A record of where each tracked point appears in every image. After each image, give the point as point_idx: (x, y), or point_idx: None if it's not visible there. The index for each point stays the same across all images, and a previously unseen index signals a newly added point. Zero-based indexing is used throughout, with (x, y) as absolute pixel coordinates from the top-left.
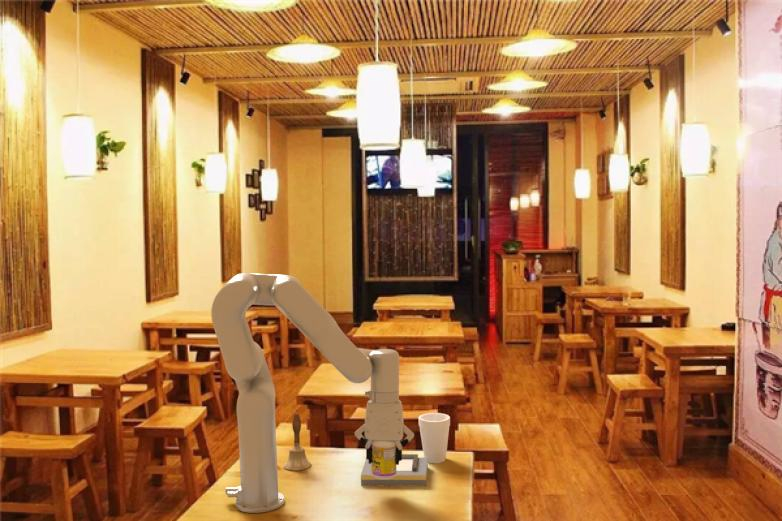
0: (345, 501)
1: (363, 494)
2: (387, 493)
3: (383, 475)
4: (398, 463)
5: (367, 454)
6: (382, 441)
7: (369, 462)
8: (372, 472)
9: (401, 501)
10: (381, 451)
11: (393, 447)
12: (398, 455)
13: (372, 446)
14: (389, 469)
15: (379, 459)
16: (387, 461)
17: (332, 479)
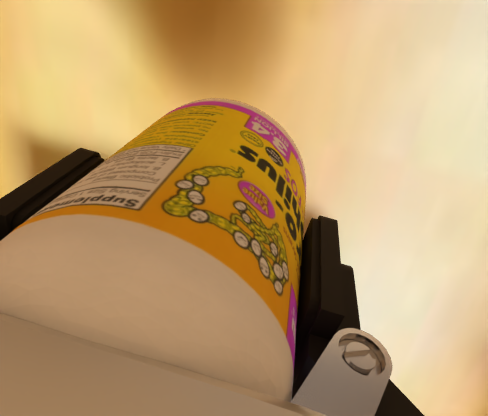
0: (471, 91)
1: (345, 160)
2: None
3: (230, 103)
4: (77, 149)
5: (344, 290)
6: (111, 329)
7: (328, 220)
8: (304, 175)
9: (163, 18)
10: (187, 201)
11: (9, 234)
12: (29, 182)
13: (292, 337)
14: (169, 119)
15: (237, 169)
16: (159, 140)
17: (432, 337)
